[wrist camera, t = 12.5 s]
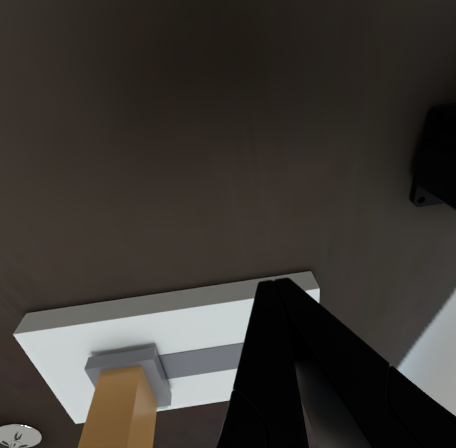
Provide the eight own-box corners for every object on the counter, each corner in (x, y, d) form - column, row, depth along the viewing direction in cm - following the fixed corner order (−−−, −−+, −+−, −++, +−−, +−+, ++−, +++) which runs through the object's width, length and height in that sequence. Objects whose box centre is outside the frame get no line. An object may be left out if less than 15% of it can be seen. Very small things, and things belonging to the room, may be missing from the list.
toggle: (154, 347, 23) (137, 471, 17) (171, 393, 26) (162, 513, 20) (88, 357, 23) (43, 485, 16) (113, 402, 26) (83, 526, 20)
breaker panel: (310, 270, 24) (320, 289, 22) (308, 367, 30) (315, 387, 28) (26, 313, 24) (12, 335, 22) (82, 401, 30) (75, 424, 28)
